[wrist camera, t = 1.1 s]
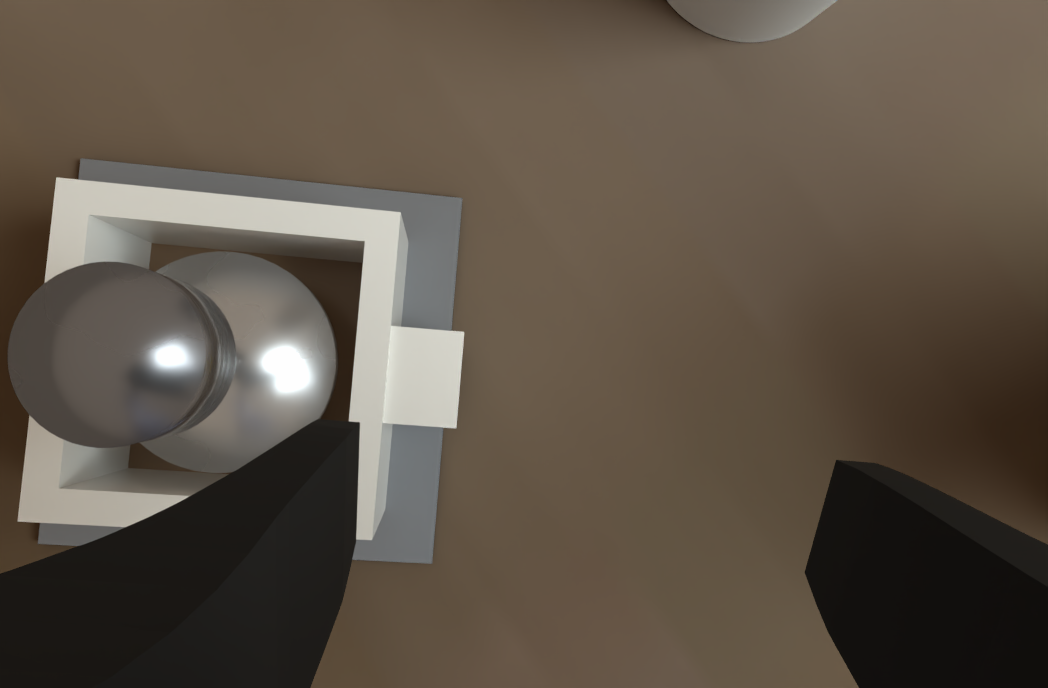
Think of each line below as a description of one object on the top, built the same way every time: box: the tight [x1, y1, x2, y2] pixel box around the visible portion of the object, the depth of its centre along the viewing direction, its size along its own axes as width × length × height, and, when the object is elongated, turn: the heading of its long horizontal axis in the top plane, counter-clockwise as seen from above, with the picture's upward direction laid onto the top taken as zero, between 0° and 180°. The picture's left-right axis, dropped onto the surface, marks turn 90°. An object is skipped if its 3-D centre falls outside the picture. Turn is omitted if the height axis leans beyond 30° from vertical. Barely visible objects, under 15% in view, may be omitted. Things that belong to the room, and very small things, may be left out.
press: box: [18, 158, 464, 564], centre depth 19 cm, size 11×11×4 cm
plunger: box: [8, 251, 338, 473], centre depth 15 cm, size 5×5×6 cm
